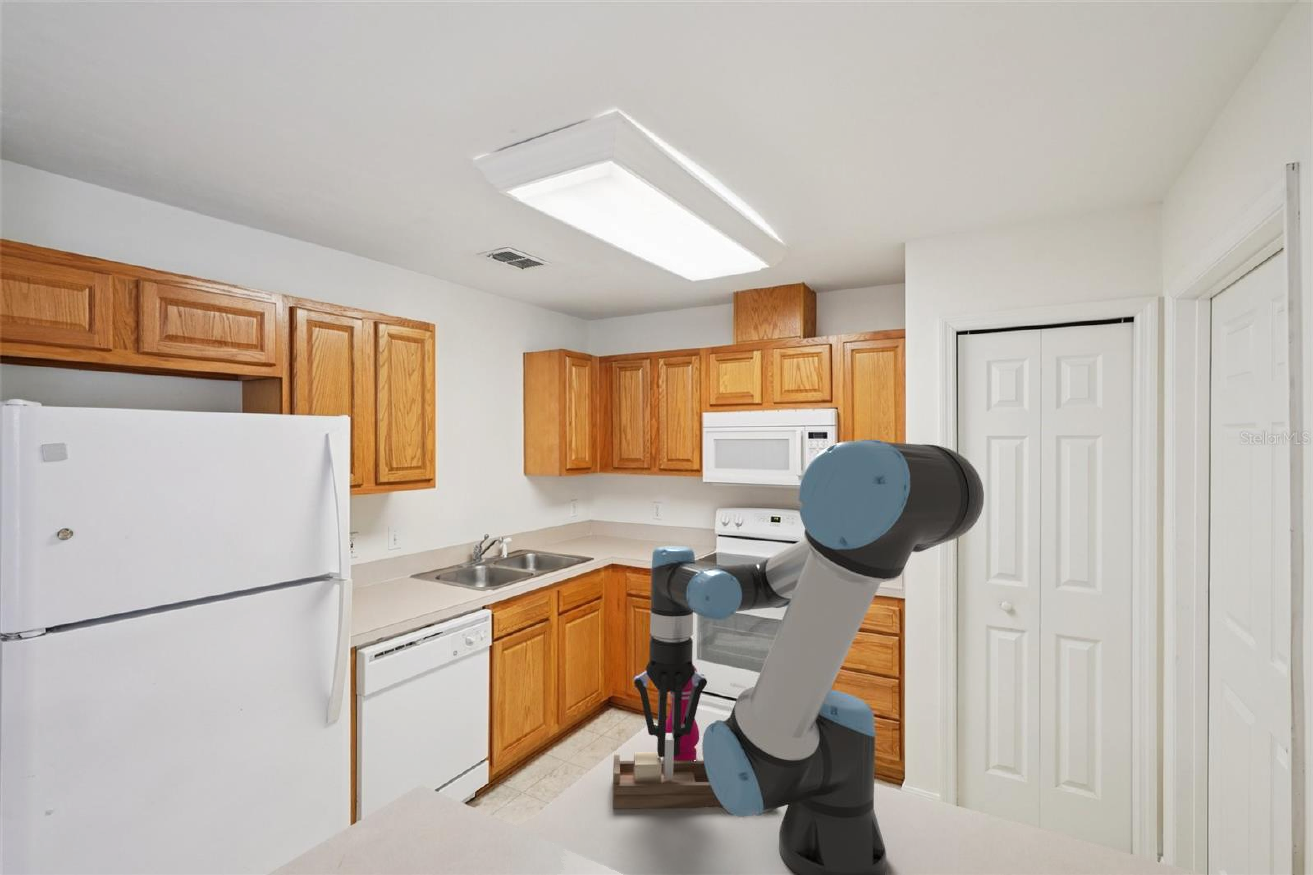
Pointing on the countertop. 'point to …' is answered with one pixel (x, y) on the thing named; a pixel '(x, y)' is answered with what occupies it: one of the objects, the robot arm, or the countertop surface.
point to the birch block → (647, 767)
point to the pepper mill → (686, 740)
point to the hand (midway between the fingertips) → (667, 774)
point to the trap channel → (663, 787)
